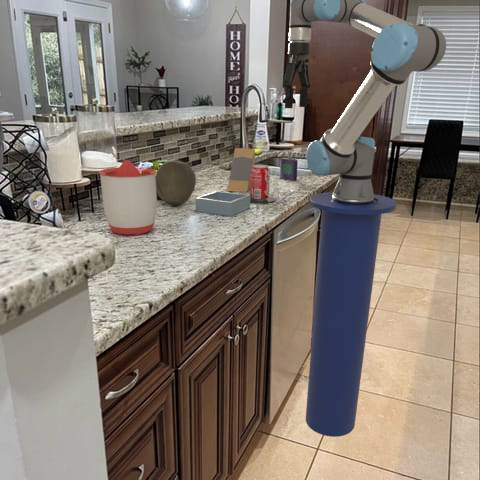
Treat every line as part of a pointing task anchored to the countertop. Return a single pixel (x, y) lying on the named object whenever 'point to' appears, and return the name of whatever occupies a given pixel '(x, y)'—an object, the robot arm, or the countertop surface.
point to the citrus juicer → (129, 198)
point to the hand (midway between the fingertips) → (295, 107)
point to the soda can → (259, 182)
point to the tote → (222, 203)
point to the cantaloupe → (175, 182)
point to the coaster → (262, 200)
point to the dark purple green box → (288, 168)
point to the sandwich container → (241, 170)
